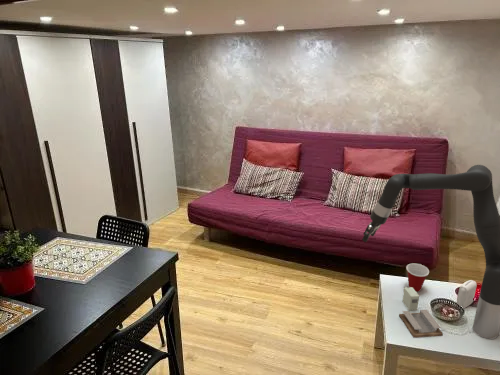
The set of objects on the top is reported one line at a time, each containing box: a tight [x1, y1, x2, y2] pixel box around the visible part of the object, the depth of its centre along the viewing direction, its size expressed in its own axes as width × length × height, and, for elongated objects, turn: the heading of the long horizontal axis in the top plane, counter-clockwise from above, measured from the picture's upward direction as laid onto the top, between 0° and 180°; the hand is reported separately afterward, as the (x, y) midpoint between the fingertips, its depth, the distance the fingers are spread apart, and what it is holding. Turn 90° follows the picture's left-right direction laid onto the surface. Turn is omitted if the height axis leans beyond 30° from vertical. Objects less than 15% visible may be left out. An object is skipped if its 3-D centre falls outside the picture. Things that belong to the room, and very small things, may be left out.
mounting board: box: [398, 312, 444, 338], centre depth 164 cm, size 13×14×1 cm
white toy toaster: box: [455, 279, 478, 309], centre depth 175 cm, size 10×4×12 cm, turn 123°
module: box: [402, 286, 420, 311], centre depth 175 cm, size 4×8×8 cm, turn 3°
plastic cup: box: [405, 262, 430, 293], centre depth 188 cm, size 11×11×12 cm
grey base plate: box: [402, 309, 442, 333], centre depth 163 cm, size 12×12×2 cm
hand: (367, 238), depth 180 cm, fingers open, 8 cm apart
